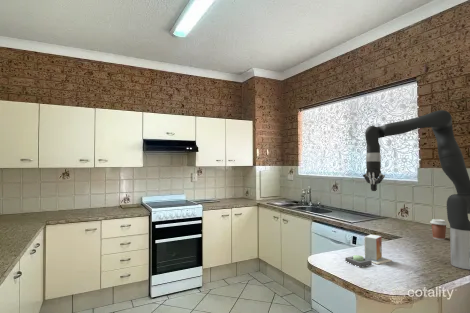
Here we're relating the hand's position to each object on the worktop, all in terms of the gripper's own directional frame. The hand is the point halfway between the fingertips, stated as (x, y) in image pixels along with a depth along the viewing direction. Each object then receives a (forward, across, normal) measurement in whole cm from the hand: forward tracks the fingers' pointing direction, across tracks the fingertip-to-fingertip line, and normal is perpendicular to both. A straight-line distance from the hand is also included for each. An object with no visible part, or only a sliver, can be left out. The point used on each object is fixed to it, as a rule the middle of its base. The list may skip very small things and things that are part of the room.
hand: (373, 190), depth 156 cm
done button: (+31, -14, +31) cm, 46 cm away
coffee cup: (+32, -5, -57) cm, 66 cm away
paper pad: (+32, -14, +19) cm, 40 cm away
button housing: (+32, -14, +31) cm, 47 cm away
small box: (+32, -13, +19) cm, 39 cm away
